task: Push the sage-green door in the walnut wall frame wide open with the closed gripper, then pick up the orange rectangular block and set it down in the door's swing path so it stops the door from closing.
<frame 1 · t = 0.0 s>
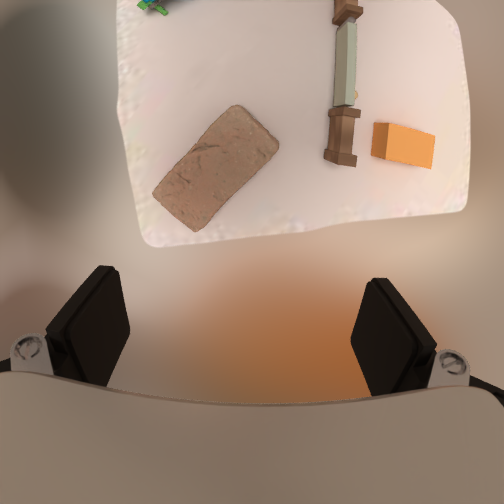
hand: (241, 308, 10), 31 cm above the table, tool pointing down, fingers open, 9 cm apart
door: (349, 62, 30), point 3 cm above the table, hinge at 0.0°
orange rectangular block: (395, 143, 37), on the table
brick: (217, 164, 39), on the table
wall frame: (339, 60, 32), on the table
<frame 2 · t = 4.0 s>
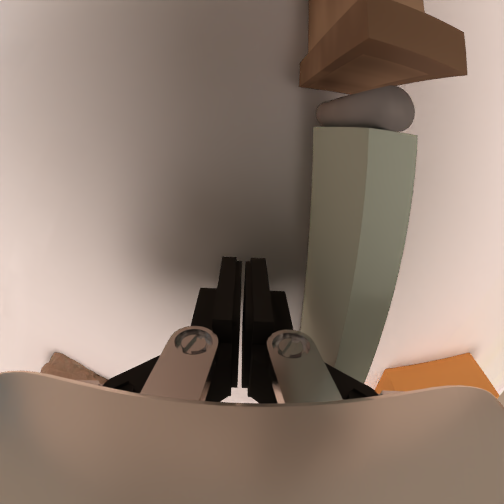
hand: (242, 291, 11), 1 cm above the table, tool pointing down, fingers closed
door: (353, 293, 9), point 3 cm above the table, hinge at 2.9°, touching gripper
orange rectangular block: (418, 383, 17), on the table
brick: (94, 418, 19), on the table
wall frame: (315, 238, 12), on the table
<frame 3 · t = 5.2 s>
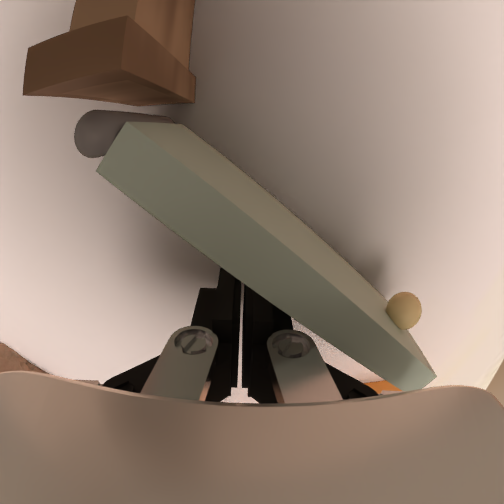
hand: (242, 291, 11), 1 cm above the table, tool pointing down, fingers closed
door: (309, 241, 8), point 3 cm above the table, hinge at 52.5°, touching gripper
brick: (46, 407, 19), on the table
wall frame: (168, 252, 12), on the table
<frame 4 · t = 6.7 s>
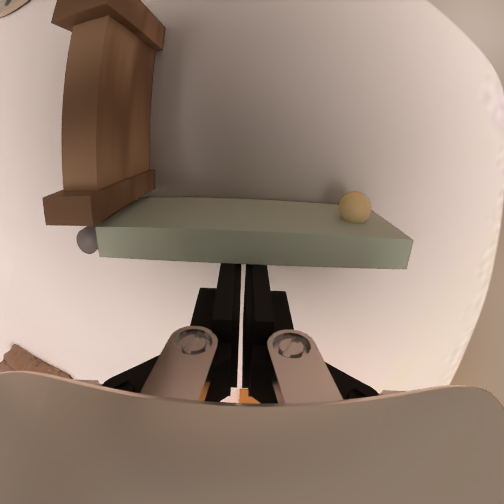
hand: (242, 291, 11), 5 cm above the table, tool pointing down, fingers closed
door: (243, 211, 12), point 3 cm above the table, hinge at 90.8°
brick: (54, 400, 23), on the table
wall frame: (144, 287, 16), on the table
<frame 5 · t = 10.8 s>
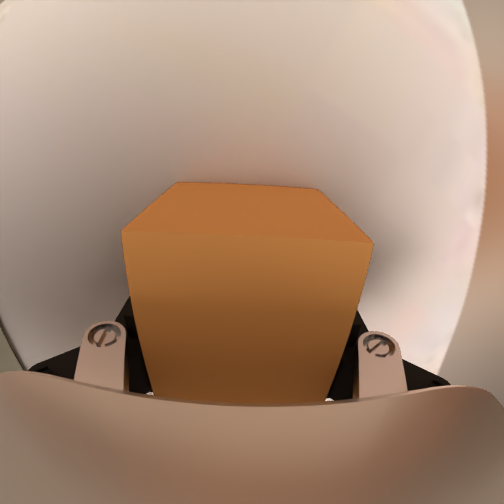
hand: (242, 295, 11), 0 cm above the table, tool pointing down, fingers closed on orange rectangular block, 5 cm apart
orange rectangular block: (242, 284, 11), on the table, touching gripper
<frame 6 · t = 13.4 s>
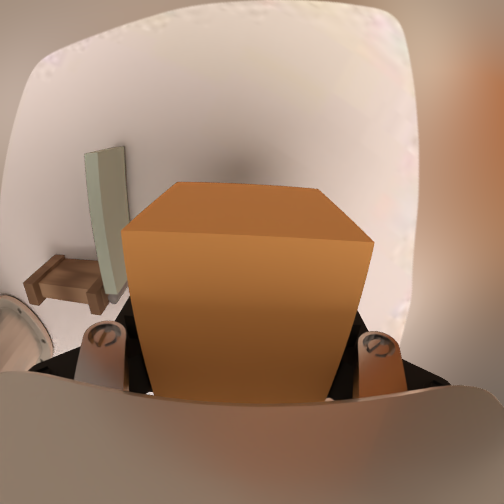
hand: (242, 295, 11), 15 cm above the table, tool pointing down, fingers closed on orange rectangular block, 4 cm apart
door: (106, 224, 22), point 3 cm above the table, hinge at 91.7°
orange rectangular block: (242, 284, 11), point 14 cm above the table, touching gripper
wall frame: (179, 273, 28), on the table
when the fingers open (2 cm above the table, at t = 16.1 s): orange rectangular block drops 2 cm, on the table.
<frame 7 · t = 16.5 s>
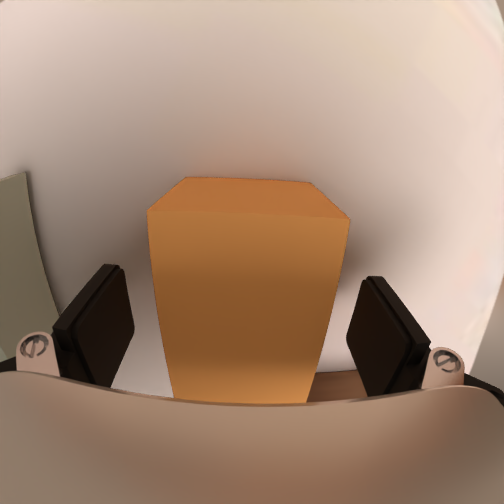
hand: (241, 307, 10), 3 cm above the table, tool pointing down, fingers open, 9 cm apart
door: (12, 311, 10), point 3 cm above the table, hinge at 91.7°
orange rectangular block: (243, 267, 13), on the table
wall frame: (141, 372, 16), on the table
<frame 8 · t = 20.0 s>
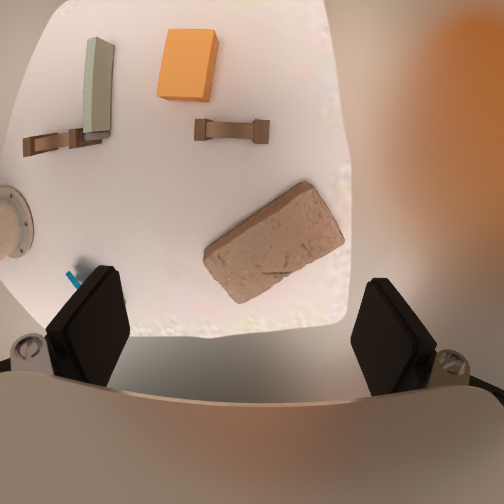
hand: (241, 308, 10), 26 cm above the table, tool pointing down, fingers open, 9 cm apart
door: (93, 90, 26), point 3 cm above the table, hinge at 91.7°
orange rectangular block: (193, 70, 28), on the table
brick: (270, 238, 38), on the table
wall frame: (142, 131, 31), on the table
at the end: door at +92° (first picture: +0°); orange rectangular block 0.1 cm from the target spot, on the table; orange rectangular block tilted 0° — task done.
